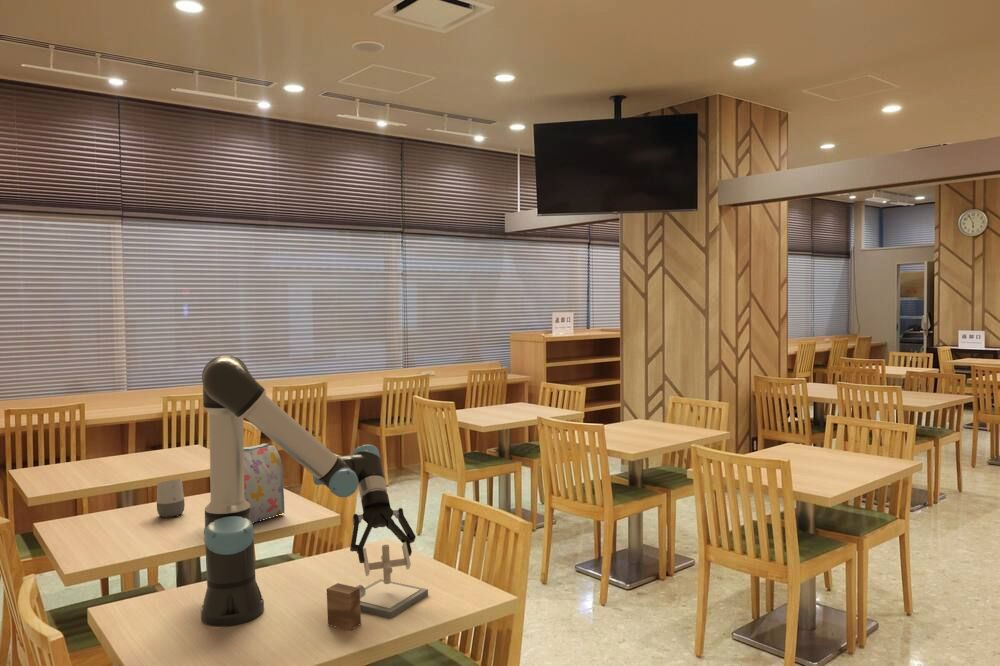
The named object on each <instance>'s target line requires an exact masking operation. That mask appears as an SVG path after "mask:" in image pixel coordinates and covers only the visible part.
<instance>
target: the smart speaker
mask: <svg viewBox="0 0 1000 666" xmlns="http://www.w3.org/2000/svg"><path fill="white" fill-rule="evenodd" d="M185 505H186V503H185V494H184V487H183V479H182V478H177V479H171V480H165V481H161V482H158V483H157V486H156V511H157V514H158V516H159V517H161V516H162V517H161V518H164V517H171V518H173V517H172V516H176V517H178V516H177V515H179V516H181V515H182V514H183V513H184V510H185ZM180 514H181V515H180Z"/></svg>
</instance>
